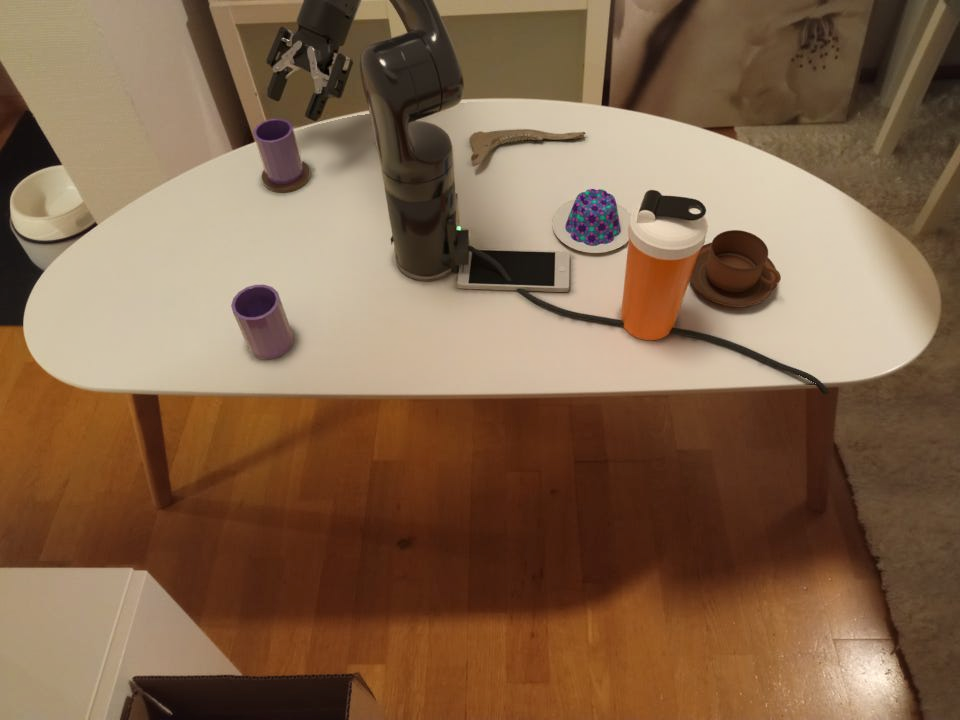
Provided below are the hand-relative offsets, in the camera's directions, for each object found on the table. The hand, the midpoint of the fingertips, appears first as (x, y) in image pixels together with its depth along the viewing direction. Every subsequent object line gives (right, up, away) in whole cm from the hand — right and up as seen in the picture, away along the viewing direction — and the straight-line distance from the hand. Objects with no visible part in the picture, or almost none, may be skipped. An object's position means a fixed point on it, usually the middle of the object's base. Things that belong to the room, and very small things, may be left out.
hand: (291, 109), depth 116 cm
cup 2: (+1, -36, -15) cm, 39 cm away
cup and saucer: (+63, -27, -10) cm, 70 cm away
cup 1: (-2, -8, +6) cm, 10 cm away
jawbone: (+36, -5, +8) cm, 37 cm away
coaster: (-2, -9, +6) cm, 11 cm away
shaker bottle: (+51, -33, -14) cm, 62 cm away
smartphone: (+34, -26, -8) cm, 43 cm away
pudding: (+45, -19, -3) cm, 49 cm away
